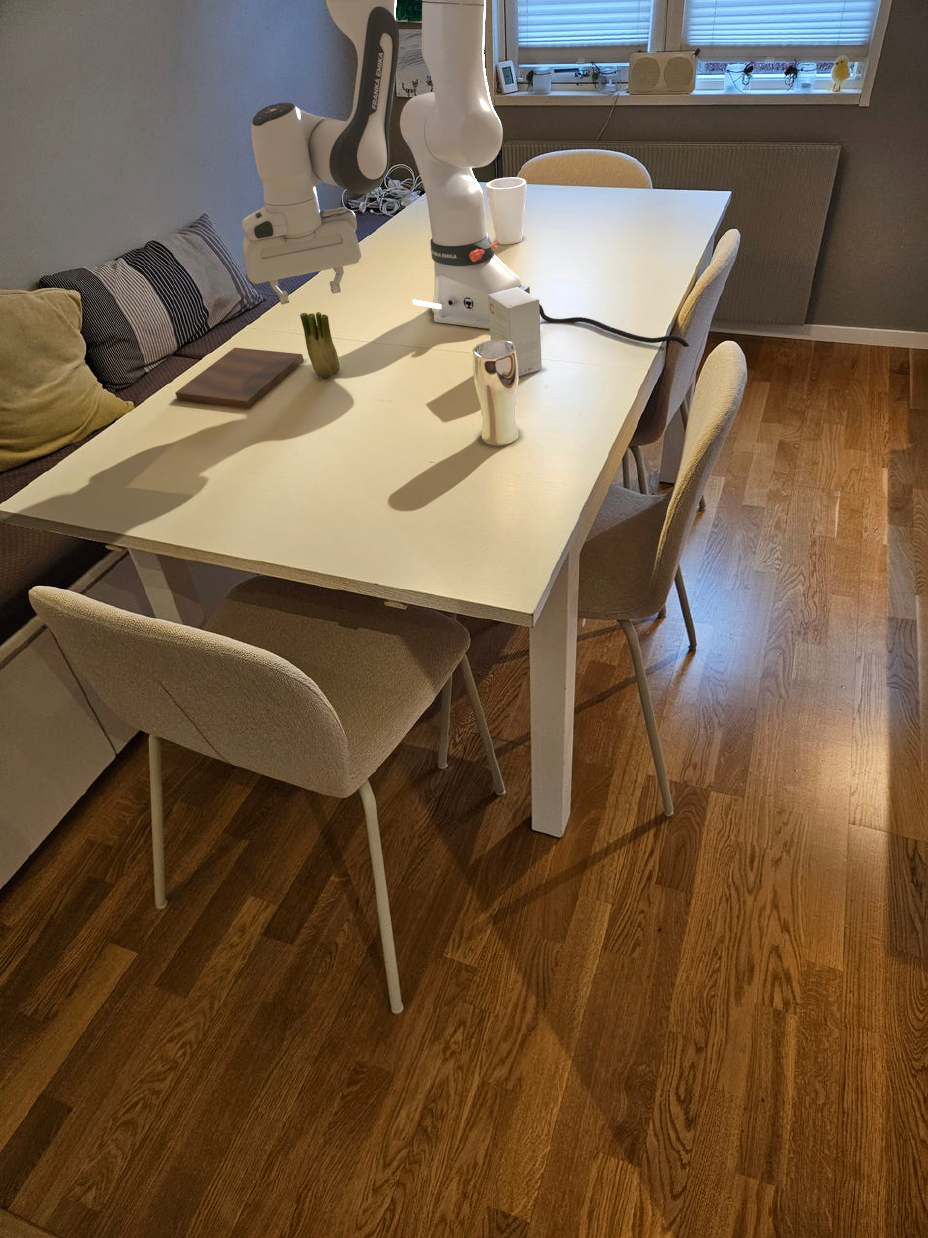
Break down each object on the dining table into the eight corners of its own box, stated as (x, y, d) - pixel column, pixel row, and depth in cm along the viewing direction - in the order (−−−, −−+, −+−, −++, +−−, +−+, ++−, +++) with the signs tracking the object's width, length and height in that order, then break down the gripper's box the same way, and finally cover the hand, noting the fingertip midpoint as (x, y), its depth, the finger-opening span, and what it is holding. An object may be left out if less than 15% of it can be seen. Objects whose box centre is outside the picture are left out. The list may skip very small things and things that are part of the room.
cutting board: (236, 354, 176) (234, 347, 175) (304, 360, 171) (302, 353, 170) (177, 399, 162) (174, 392, 162) (248, 408, 157) (246, 401, 156)
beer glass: (476, 428, 144) (469, 342, 134) (518, 423, 144) (513, 336, 134) (481, 449, 139) (473, 361, 129) (524, 444, 139) (519, 355, 129)
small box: (542, 369, 158) (540, 299, 150) (512, 379, 156) (508, 308, 148) (521, 354, 164) (517, 285, 155) (491, 363, 162) (486, 294, 154)
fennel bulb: (309, 374, 166) (295, 312, 158) (331, 365, 168) (318, 304, 160) (324, 383, 162) (311, 321, 154) (346, 374, 164) (334, 312, 156)
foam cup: (535, 235, 214) (533, 178, 206) (516, 247, 209) (513, 189, 200) (502, 232, 219) (498, 176, 210) (483, 244, 213) (479, 187, 205)
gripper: (349, 200, 151) (362, 280, 160) (232, 222, 147) (252, 302, 156) (358, 209, 146) (370, 291, 155) (237, 232, 142) (258, 314, 151)
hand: (310, 297), depth 155 cm, fingers open, 8 cm apart
